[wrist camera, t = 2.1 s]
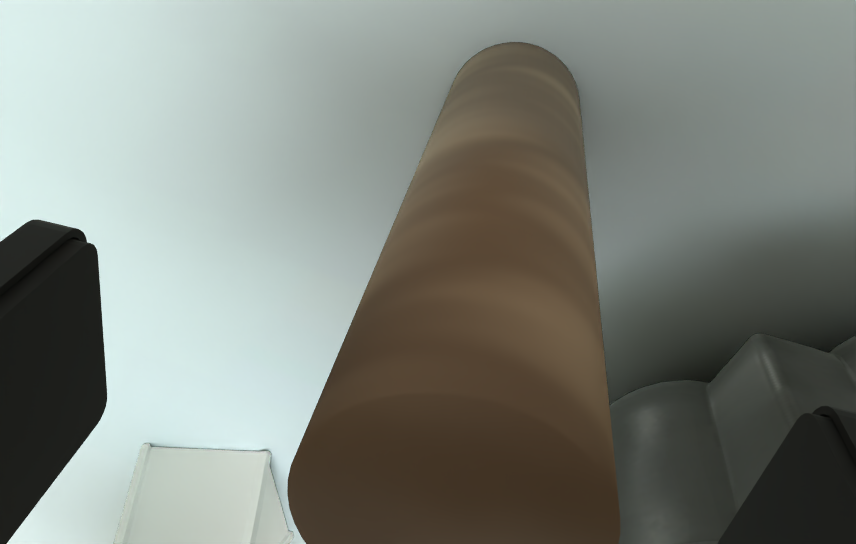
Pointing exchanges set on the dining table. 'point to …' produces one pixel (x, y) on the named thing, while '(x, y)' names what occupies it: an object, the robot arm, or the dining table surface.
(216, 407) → the dining table surface
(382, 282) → the brown wooden dowel
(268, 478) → the skyscraper
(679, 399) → the bundt pan
